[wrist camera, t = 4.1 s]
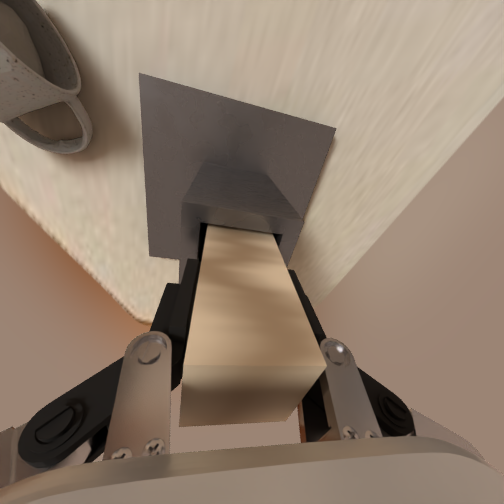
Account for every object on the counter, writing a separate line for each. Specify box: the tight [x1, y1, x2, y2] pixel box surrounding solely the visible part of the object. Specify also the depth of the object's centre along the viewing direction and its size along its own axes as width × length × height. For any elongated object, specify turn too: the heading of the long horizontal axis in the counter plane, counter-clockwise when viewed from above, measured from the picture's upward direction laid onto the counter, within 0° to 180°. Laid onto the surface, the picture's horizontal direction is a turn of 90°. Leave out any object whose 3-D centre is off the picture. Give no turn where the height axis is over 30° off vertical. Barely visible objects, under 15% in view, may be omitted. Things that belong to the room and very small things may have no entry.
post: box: [179, 223, 327, 427], centre depth 14 cm, size 4×4×19 cm
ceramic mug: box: [0, 0, 92, 154], centre depth 14 cm, size 11×8×8 cm
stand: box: [139, 73, 337, 284], centre depth 18 cm, size 18×18×14 cm
